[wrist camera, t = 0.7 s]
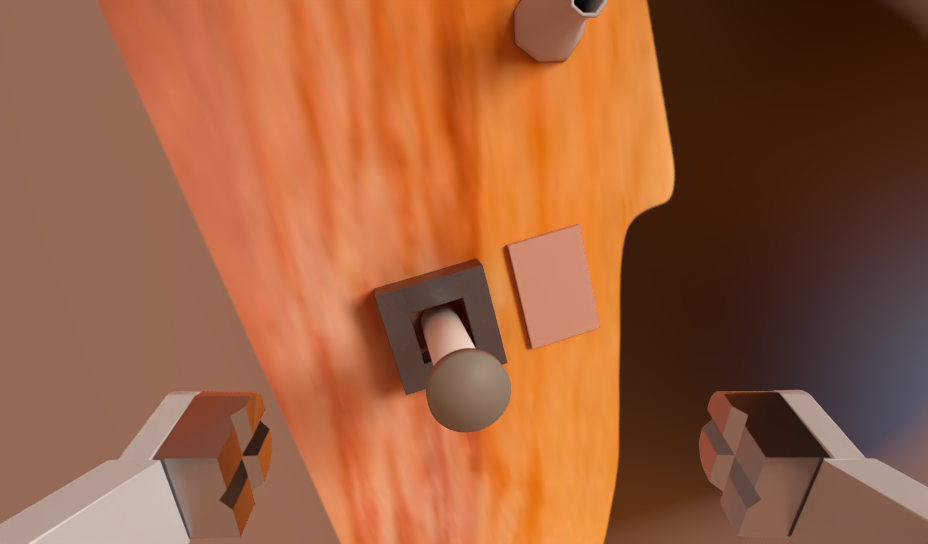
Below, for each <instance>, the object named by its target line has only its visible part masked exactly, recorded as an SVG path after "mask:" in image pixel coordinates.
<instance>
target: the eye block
mask: <svg viewBox="0 0 928 544" xmlns="http://www.w3.org/2000/svg"><path fill="white" fill-rule="evenodd" d="M374 290H375V299H376V302H377V305H378V308H379V311H380V314H381V318H382V321H383V324H384V327H385V330H386V333H387V337H388V340H389V343H390V346H391V349H392V352H393V355H394V359H395V362H396V365H397V368H398V371H399V374H400V378H401V381H402V384H403V387H404V390H405V393H406V395H408V394H411V393H415V392H418V391H421V390H424V389H426V382H427V378H428V376H429V373H430V371H431V370H432V368H433V367H434V366H433V363H432V360H431V356H430V353H429V351H426V352H423V353H421V350H420V346H419V343H418V340H417V336H416V333H415V330H414V326H413V323H412V320H411V317H410V313H414V312H417V311H420V310H424V309H427V308H430V307H434V306H437V305H440V304H444V303H447V302H450V301H453V300H457V299H460V298H461V302H462V305H463V309H464V313H465V317H466V320H467V324H468V328H469V331H470V335H471V338H470V339H471V341H472V343H473V345H474V347H475V348H476V349H481V350H484V351H486V352H488V353H490V354H492V355H493V356H494V357H496V358H497V359H498V360H499V362H500V363H501V364H505V363H507V360H506V356H505V352H504V348H503V344H502V340H501V336H500V332H499V328H498V324H497V320H496V316H495V312H494V308H493V304H492V301H491V297H490V293H489V289H488V285H487V281H486V277H485V273H484V269H483V265H482V264H481V263H480V262H479V261H478V260H477V259H473V260H470V261H467V262H463V263H460V264H457V265H453V266H450V267H446V268H443V269H440V270H436V271H433V272H429V273H426V274H423V275H419V276H416V277H412V278H409V279H406V280H402V281H399V282H395V283H392V284H389V285H385V286H382V287H378V288H375V289H374Z"/></svg>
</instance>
